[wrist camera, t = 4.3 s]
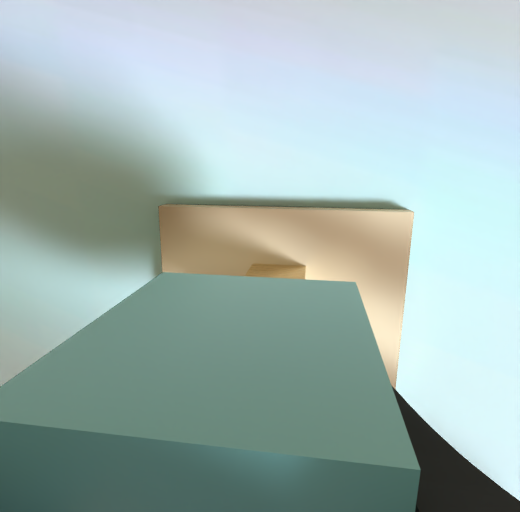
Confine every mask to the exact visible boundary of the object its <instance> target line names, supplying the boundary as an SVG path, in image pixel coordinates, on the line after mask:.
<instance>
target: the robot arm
mask: <svg viewBox="0 0 520 512" xmlns="http://www.w3.org/2000/svg"><path fill="white" fill-rule="evenodd" d="M391 386H392V385H391ZM392 388H393V391H394V394H395V397H396V400H397V403H398V406H399V409H400V412H401V414H402V417H403V420H404V423H405V426H406V429H407V432H408V435H409V438H410V441H411V443H412V446H413V449H414V452H415V455H416V458H417V461H418V464H419V467H420V470H421V471H420V479H419V486H418V493H417V501H416V508H415V512H520V501H519V500H518V499H516V498H515V497H513V496H512V495H511V494H509V493H508V492H507V491H505V490H504V489H503V488H501V487H500V486H499V485H498V484H496V483H495V482H494V481H492V480H491V479H490V478H489V477H487V476H486V475H485V474H484V473H482V472H481V471H480V470H479V469H477V468H476V467H475V466H474V465H472V464H471V463H470V462H469V461H468V460H466V459H465V458H464V457H463V456H462V455H461V454H459V453H458V452H457V451H456V450H455V449H454V448H453V447H452V446H451V445H450V444H448V443H447V442H446V441H445V440H444V439H443V438H442V437H441V436H440V435H439V434H438V433H437V432H435V431H434V430H433V429H432V428H431V427H430V426H429V425H428V424H427V423H426V422H425V421H424V420H423V419H422V418H421V417H420V416H419V415H418V414H417V413H416V411H415V410H414V409H413V408H412V407H411V406H410V405H409V404H408V403H407V402H406V401H405V400H404V399H403V397H402V396H401V395H400V394H399V393H398V392H397V391H396V390H395V389H394V387H393V386H392Z"/></svg>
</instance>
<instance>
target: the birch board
mask: <svg viewBox="0 0 520 512" xmlns="http://www.w3.org/2000/svg"><path fill="white" fill-rule="evenodd" d="M413 218H414V212H413V211H410V210H402V209H358V208H315V207H271V206H227V205H183V204H165V205H161V206H159V223H160V241H161V258H162V273H163V272H170V273H190V274H209V275H229V276H245V275H246V273H247V272H248V270H249V268H250V267H251V265H252V264H253V263H254V264H277V265H299V266H306V279H307V280H327V281H346V282H356V284H357V287H358V290H359V293H360V296H361V299H362V302H363V304H364V307H365V310H366V313H367V316H368V319H369V322H370V325H371V328H372V330H373V333H374V336H375V339H376V342H377V345H378V348H379V351H380V354H381V357H382V359H383V362H384V365H385V368H386V371H387V374H388V377H389V380H390V383H391V385H392V386H393V387H394V389H395V387H396V378H397V368H398V359H399V349H400V340H401V330H402V321H403V312H404V302H405V293H406V283H407V274H408V265H409V255H410V246H411V236H412V227H413Z"/></svg>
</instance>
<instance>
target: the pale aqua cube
mask: <svg viewBox="0 0 520 512" xmlns="http://www.w3.org/2000/svg"><path fill="white" fill-rule="evenodd" d="M420 471H421V470H420V467H419V464H418V461H417V458H416V455H415V452H414V449H413V446H412V443H411V441H410V438H409V435H408V432H407V429H406V426H405V423H404V420H403V417H402V414H401V412H400V409H399V406H398V403H397V400H396V397H395V394H394V391H393V388H392V386H391V383H390V380H389V377H388V374H387V371H386V368H385V365H384V362H383V359H382V357H381V354H380V351H379V348H378V345H377V342H376V339H375V336H374V333H373V330H372V328H371V325H370V322H369V319H368V316H367V313H366V310H365V307H364V304H363V302H362V299H361V296H360V293H359V290H358V287H357V284H356V282H346V281H327V280H307V279H288V278H268V277H248V276H229V275H209V274H190V273H170V272H163V273H161V274H160V275H158V276H157V277H155V278H154V279H153V280H151V281H150V282H148V283H147V284H146V285H144V286H143V287H141V288H140V289H138V290H137V291H136V292H134V293H133V294H131V295H130V296H129V297H127V298H126V299H124V300H123V301H121V302H120V303H119V304H117V305H116V306H114V307H113V308H111V309H110V310H109V311H107V312H106V313H104V314H103V315H102V316H100V317H99V318H97V319H96V320H94V321H93V322H92V323H90V324H89V325H87V326H86V327H85V328H83V329H82V330H80V331H79V332H77V333H76V334H75V335H73V336H72V337H70V338H69V339H67V340H66V341H65V342H63V343H62V344H60V345H59V346H58V347H56V348H55V349H53V350H52V351H50V352H49V353H48V354H46V355H45V356H43V357H42V358H41V359H39V360H38V361H36V362H35V363H33V364H32V365H31V366H29V367H28V368H26V369H25V370H23V371H22V372H21V373H19V374H18V375H16V376H15V377H14V378H12V379H11V380H9V381H8V382H6V383H5V384H4V385H2V386H1V387H0V512H415V508H416V501H417V493H418V486H419V479H420Z"/></svg>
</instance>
